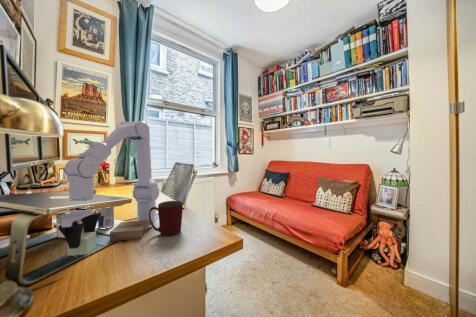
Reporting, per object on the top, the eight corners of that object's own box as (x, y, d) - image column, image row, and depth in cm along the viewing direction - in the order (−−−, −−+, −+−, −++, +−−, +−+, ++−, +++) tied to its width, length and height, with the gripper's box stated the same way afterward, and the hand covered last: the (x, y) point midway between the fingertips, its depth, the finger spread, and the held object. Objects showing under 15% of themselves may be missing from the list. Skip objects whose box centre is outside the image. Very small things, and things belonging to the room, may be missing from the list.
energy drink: (100, 225, 78) (100, 197, 78) (115, 223, 80) (115, 196, 80) (96, 230, 73) (95, 200, 73) (112, 228, 75) (111, 198, 75)
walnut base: (121, 229, 74) (121, 222, 74) (148, 227, 77) (148, 220, 76) (109, 241, 65) (109, 232, 65) (141, 238, 67) (141, 230, 67)
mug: (149, 241, 65) (149, 209, 65) (148, 231, 73) (148, 203, 72) (184, 234, 70) (184, 205, 70) (180, 226, 78) (180, 199, 78)
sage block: (78, 248, 60) (78, 233, 60) (96, 247, 61) (95, 231, 61) (67, 257, 55) (67, 240, 55) (87, 255, 56) (87, 238, 56)
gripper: (81, 193, 63) (81, 233, 64) (47, 204, 49) (48, 255, 50) (104, 192, 65) (104, 231, 65) (78, 203, 51) (79, 252, 51)
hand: (82, 241), depth 58 cm, fingers open, 7 cm apart
